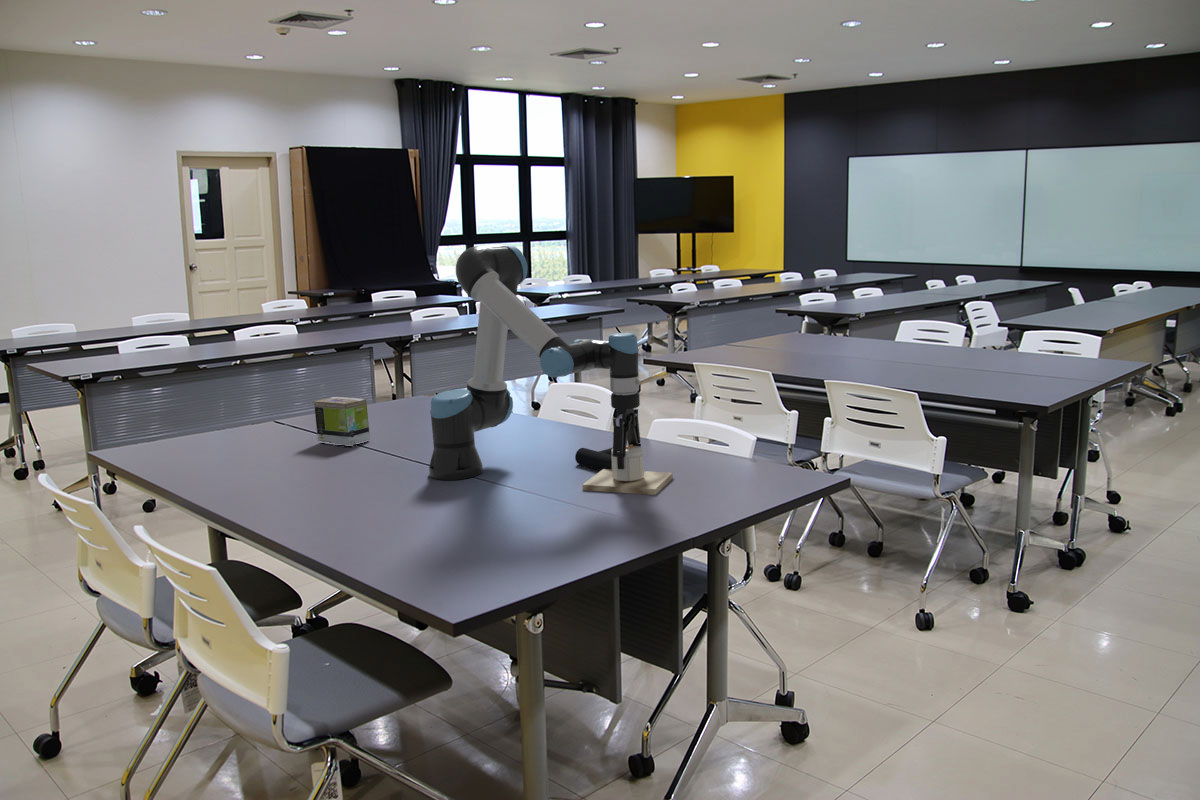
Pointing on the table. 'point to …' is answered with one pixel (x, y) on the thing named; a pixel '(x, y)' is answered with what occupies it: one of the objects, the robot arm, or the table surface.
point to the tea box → (342, 420)
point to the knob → (631, 463)
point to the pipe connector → (594, 458)
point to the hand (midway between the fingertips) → (627, 475)
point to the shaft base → (628, 483)
